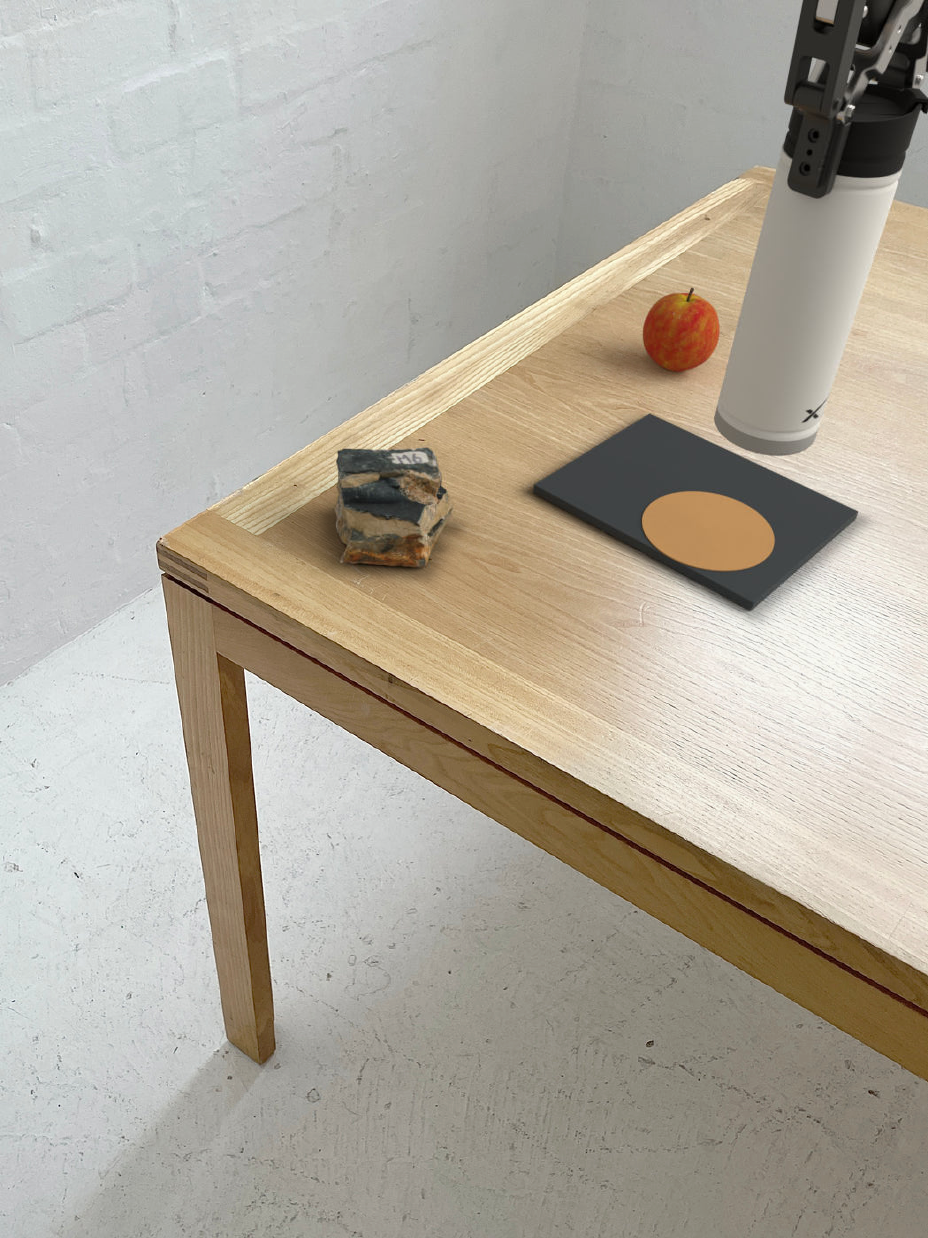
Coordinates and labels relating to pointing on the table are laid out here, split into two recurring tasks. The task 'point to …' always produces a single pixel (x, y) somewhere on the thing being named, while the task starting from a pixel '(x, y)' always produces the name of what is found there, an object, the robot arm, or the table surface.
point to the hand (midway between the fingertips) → (839, 175)
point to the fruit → (681, 331)
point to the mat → (698, 508)
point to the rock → (390, 505)
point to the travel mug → (812, 279)
